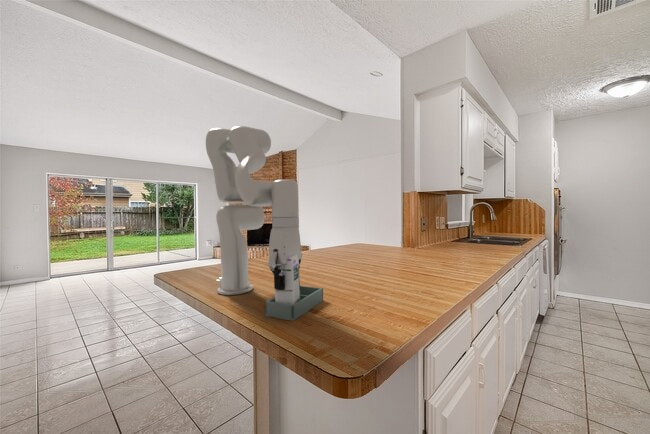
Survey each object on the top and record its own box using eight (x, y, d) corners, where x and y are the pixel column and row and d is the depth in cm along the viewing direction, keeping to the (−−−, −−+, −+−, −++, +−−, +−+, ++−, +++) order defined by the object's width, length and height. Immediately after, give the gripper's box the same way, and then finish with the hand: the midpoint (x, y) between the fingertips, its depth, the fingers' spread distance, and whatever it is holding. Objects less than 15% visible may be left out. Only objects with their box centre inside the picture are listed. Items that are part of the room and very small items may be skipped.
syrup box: (294, 309, 77) (293, 256, 76) (274, 307, 78) (273, 256, 77) (300, 302, 82) (299, 253, 82) (281, 301, 83) (280, 253, 83)
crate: (293, 320, 74) (292, 305, 74) (265, 315, 78) (265, 301, 78) (323, 300, 90) (323, 288, 90) (298, 297, 94) (298, 285, 94)
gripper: (291, 221, 89) (292, 277, 89) (255, 225, 73) (256, 292, 74) (311, 221, 85) (313, 279, 86) (278, 225, 70) (280, 296, 70)
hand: (287, 285), depth 80 cm, fingers closed on syrup box, 6 cm apart
